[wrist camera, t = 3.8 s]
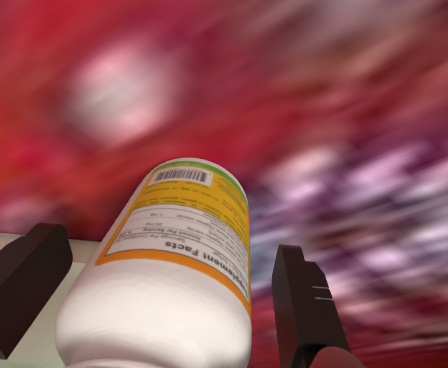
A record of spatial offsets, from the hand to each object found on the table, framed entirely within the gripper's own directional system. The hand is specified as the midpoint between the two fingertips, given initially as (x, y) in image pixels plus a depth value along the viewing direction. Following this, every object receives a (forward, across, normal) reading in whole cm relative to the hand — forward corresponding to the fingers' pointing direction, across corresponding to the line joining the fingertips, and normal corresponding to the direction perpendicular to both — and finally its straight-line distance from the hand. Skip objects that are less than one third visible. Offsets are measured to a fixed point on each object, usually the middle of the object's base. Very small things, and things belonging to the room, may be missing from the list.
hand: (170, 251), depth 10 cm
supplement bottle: (+4, 0, 0) cm, 4 cm away
